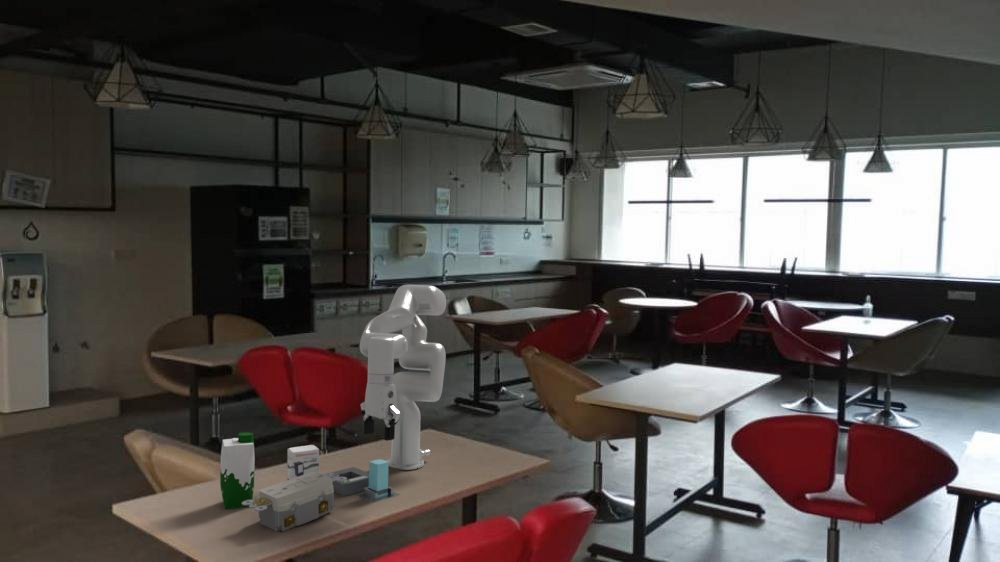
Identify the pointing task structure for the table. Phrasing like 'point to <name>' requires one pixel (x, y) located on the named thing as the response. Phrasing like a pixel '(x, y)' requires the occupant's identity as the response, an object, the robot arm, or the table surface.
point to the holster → (376, 494)
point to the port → (351, 481)
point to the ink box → (302, 461)
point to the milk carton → (237, 470)
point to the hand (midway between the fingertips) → (379, 436)
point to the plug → (378, 477)
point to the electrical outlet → (295, 500)
